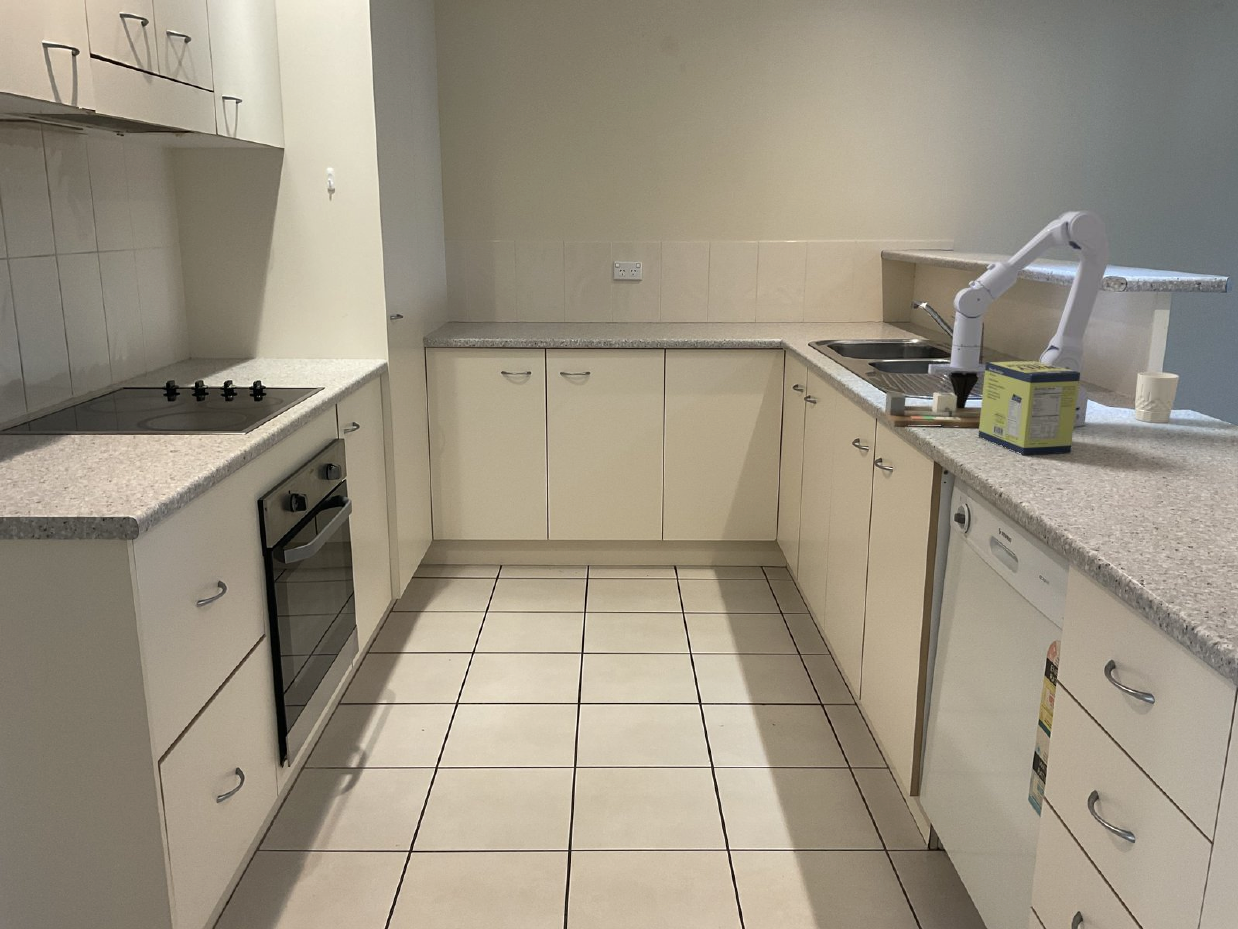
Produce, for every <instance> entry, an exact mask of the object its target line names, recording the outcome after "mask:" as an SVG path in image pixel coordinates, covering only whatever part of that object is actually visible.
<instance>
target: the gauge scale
mask: <svg viewBox="0 0 1238 929" xmlns="http://www.w3.org/2000/svg"><path fill="white" fill-rule="evenodd" d="M910 417H911V418H912V419H913V420H952V421H961V419H960V418H958V417H932V416H910Z"/></svg>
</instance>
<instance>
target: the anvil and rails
mask: <svg viewBox="0 0 1238 929" xmlns="http://www.w3.org/2000/svg"><path fill="white" fill-rule="evenodd" d="M885 396H886V397H885V409H884V411H885V410H886V411H887V413H888V414H889V415H898V416H937V417H949V412H943V411H932V406H933V405H932V406H931V405H930V406H929V405H928V406H927V405H926V406H925V405H906V396H905V395H904V394H903V393H902V392H895V391H894V392H891V391H890V392H886V395H885ZM980 415H981V407H980V406H978V407H977V406H974V407H973V406H965V408H957V407H956V412H952V417H980Z"/></svg>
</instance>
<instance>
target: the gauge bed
mask: <svg viewBox="0 0 1238 929" xmlns="http://www.w3.org/2000/svg"><path fill="white" fill-rule="evenodd" d="M884 416H885V417H886V418H887V420H888V421H889V422H890V423H891V424H892V425H893V427H909V426H908V425H941V426H958V427H957V428H962V427H970V429H971V428H973V429H976V428H977V429H979V425H980V417H958V418H960V419H961V421H952V420H913V419H912V418H911V417H910V416H898V415H889V414H888V413H887V411H886V410H885V409H884ZM932 417H937V416H932Z"/></svg>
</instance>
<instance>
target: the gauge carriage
mask: <svg viewBox="0 0 1238 929" xmlns="http://www.w3.org/2000/svg"><path fill="white" fill-rule="evenodd" d="M956 402H957V396H956V395H955V394H954V392H933V396H932V411H943V412H949V417H952V412H956Z"/></svg>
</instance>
